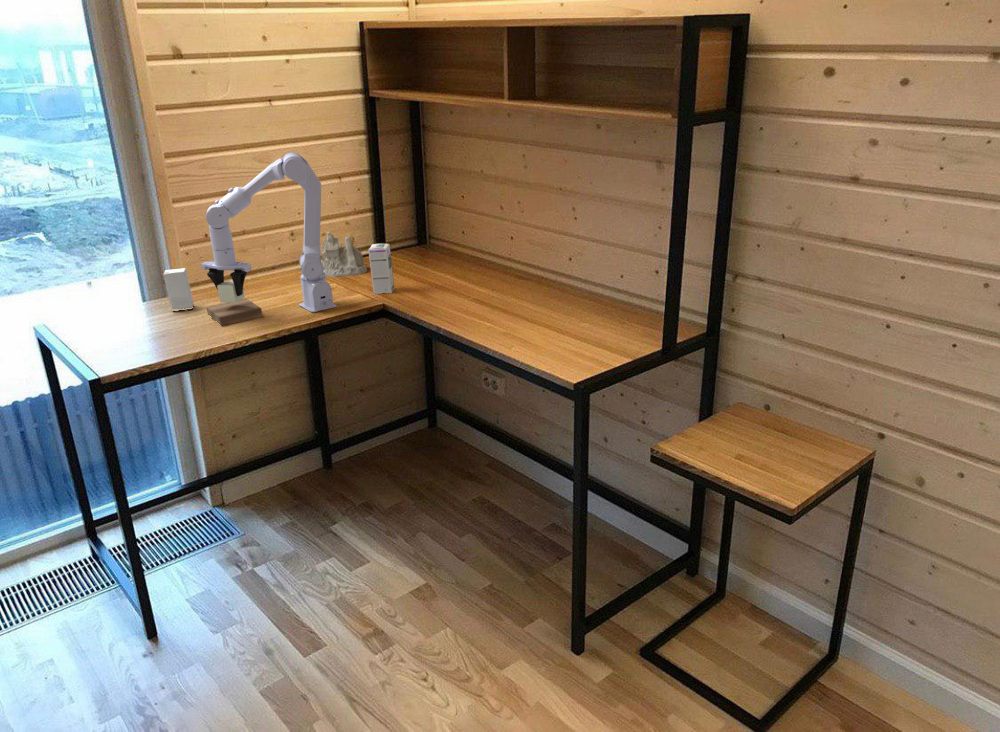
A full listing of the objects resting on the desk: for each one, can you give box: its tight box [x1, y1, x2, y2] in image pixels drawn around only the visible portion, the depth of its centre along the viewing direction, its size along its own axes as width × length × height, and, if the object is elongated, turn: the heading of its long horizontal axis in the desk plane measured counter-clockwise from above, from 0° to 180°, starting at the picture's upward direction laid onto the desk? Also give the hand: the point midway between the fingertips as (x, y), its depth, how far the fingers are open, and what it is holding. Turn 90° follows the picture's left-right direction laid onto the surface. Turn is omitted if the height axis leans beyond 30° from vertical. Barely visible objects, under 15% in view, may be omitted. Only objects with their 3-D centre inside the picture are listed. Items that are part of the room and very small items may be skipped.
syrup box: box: [368, 242, 395, 295], centre depth 245 cm, size 6×6×14 cm
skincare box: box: [162, 267, 195, 310], centre depth 236 cm, size 6×4×12 cm
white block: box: [216, 280, 246, 304], centre depth 229 cm, size 5×5×5 cm
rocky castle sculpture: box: [320, 231, 368, 278], centre depth 270 cm, size 16×16×15 cm
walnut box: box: [206, 298, 263, 326], centre depth 231 cm, size 12×12×3 cm
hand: (231, 294), depth 229 cm, fingers closed on white block, 5 cm apart
